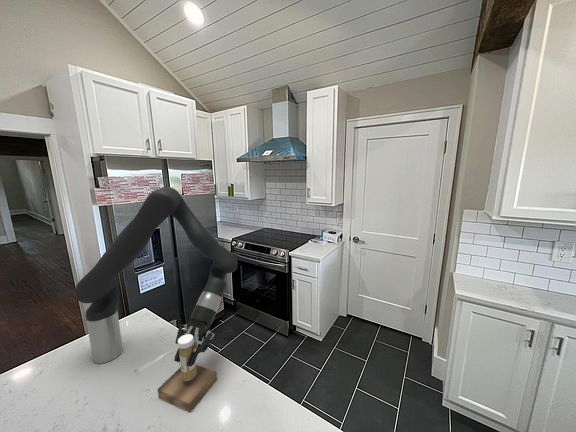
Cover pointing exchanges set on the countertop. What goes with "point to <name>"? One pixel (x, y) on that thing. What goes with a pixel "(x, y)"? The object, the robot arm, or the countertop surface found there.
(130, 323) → the countertop surface
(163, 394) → the walnut dock
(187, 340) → the sprinkles bottle
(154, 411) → the countertop surface
